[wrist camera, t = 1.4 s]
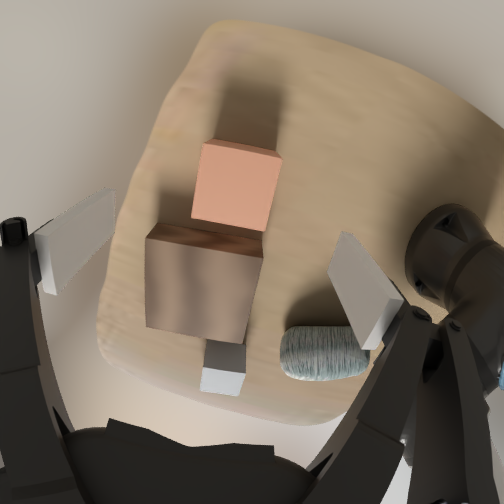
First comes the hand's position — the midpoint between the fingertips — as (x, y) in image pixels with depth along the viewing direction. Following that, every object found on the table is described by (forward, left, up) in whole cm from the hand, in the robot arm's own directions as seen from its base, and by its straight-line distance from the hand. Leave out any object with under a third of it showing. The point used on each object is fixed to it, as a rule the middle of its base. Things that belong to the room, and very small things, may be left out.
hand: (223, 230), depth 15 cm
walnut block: (+2, +14, -18) cm, 23 cm away
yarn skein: (-17, +21, -17) cm, 32 cm away
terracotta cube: (0, 0, -17) cm, 17 cm away
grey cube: (-3, +28, -17) cm, 33 cm away
